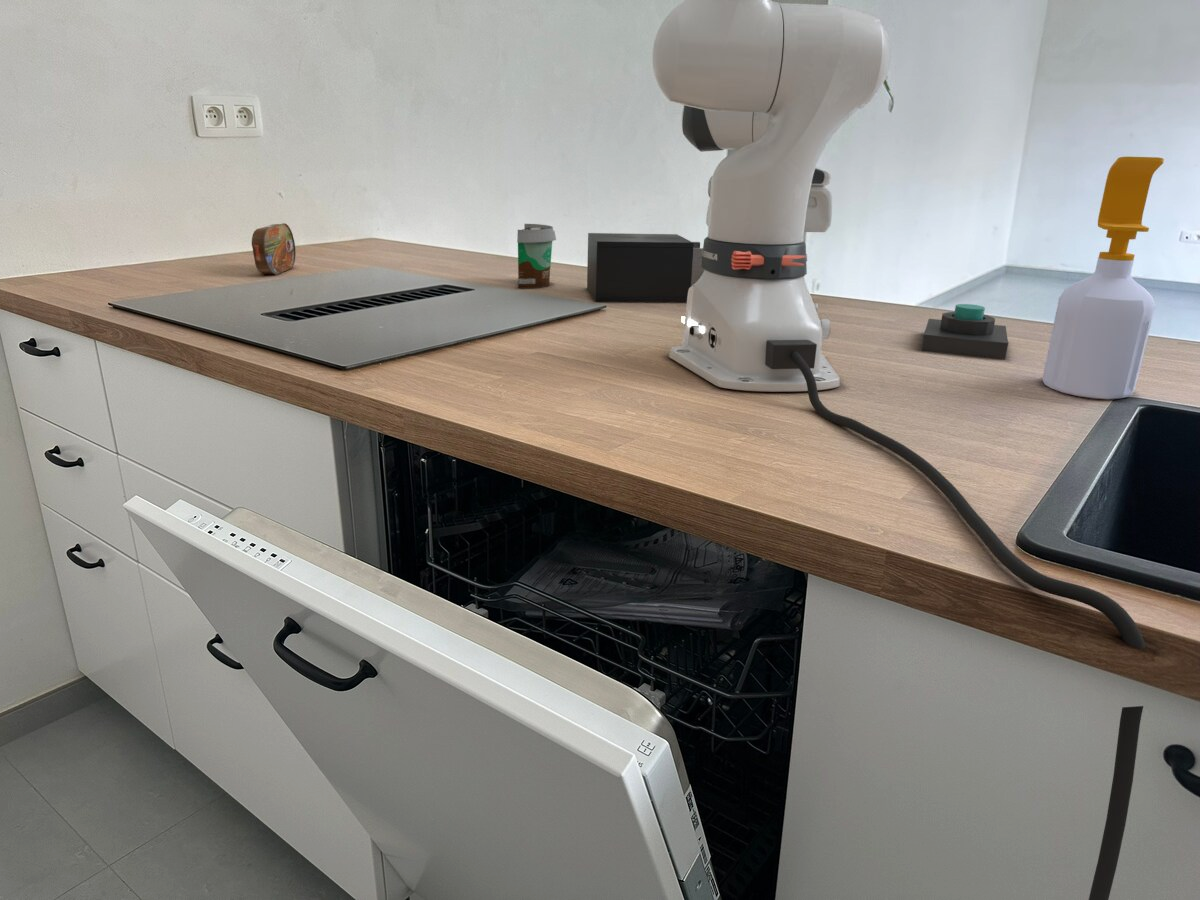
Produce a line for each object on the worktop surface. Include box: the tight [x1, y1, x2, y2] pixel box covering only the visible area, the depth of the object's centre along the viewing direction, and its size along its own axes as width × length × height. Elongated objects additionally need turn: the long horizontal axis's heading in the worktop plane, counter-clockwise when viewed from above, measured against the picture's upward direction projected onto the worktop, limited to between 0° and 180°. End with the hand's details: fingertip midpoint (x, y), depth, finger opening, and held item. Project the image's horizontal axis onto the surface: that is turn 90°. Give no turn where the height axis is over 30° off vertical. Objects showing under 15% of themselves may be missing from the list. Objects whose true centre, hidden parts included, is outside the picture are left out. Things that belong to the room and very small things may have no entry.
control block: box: [921, 311, 1009, 361], centre depth 114 cm, size 12×10×4 cm
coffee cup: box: [516, 223, 557, 289], centre depth 152 cm, size 12×6×10 cm, turn 179°
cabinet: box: [586, 232, 694, 303], centre depth 144 cm, size 16×13×10 cm
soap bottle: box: [1042, 156, 1165, 400], centre depth 92 cm, size 9×9×25 cm
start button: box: [953, 303, 986, 320], centre depth 113 cm, size 4×4×2 cm
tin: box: [251, 222, 297, 276], centre depth 158 cm, size 15×3×8 cm, turn 179°
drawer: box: [691, 241, 704, 287], centre depth 145 cm, size 19×11×8 cm, turn 97°
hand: (764, 259), depth 142 cm, fingers closed
